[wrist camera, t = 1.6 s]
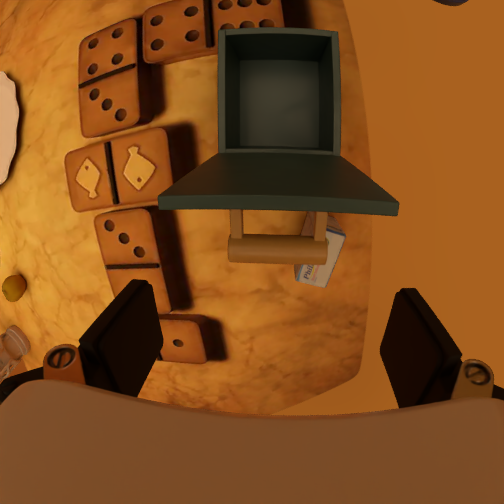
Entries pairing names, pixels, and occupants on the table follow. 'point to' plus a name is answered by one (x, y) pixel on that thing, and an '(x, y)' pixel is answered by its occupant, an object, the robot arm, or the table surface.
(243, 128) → the chest
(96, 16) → the table surface
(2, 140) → the plate
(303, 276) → the medicine box
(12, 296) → the apple
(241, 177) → the lid
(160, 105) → the table surface
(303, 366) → the table surface
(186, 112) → the table surface
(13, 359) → the lantern
